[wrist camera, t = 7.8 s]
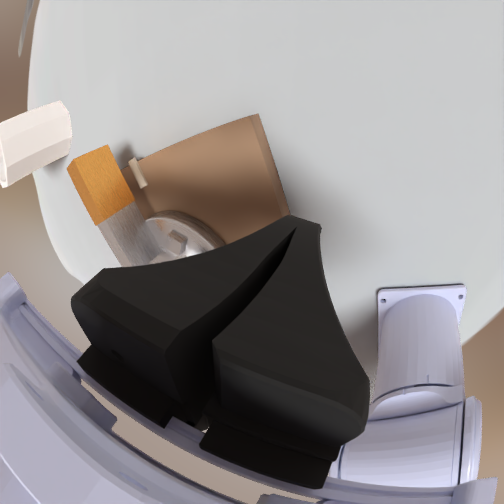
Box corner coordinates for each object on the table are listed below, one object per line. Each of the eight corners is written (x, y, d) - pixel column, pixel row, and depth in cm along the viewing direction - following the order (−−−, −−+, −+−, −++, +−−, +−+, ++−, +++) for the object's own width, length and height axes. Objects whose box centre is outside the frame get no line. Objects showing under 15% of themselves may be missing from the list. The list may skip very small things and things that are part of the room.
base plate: (322, 339, 26) (318, 352, 25) (171, 322, 37) (164, 330, 36) (256, 107, 16) (245, 110, 15) (95, 180, 28) (84, 186, 26)
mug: (74, 106, 23) (2, 133, 15) (72, 166, 28) (12, 200, 21) (38, 92, 24) (-18, 113, 16) (37, 141, 29) (-12, 167, 22)
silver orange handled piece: (262, 311, 25) (237, 357, 21) (178, 312, 31) (152, 345, 27) (158, 109, 17) (101, 125, 13) (92, 168, 24) (51, 190, 20)
